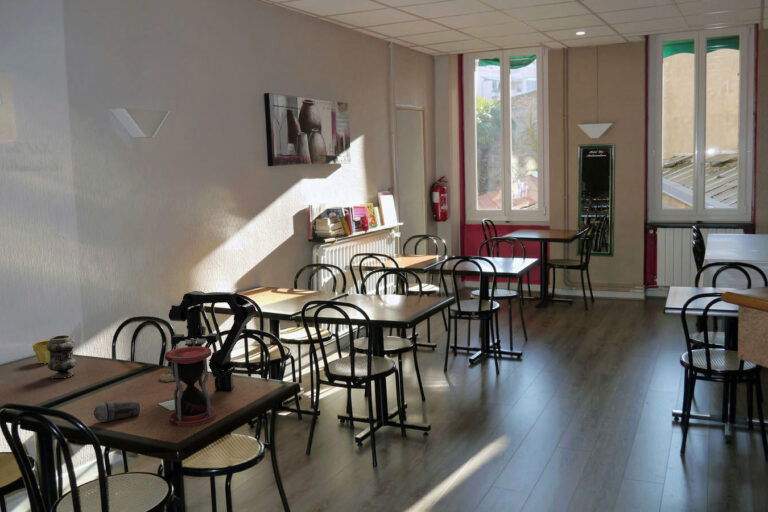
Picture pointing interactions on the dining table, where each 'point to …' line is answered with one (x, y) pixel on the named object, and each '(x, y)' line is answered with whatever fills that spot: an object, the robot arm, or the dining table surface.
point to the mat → (168, 405)
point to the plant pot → (42, 351)
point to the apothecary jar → (61, 355)
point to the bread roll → (167, 376)
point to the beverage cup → (115, 411)
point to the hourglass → (190, 386)
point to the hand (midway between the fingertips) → (196, 358)
